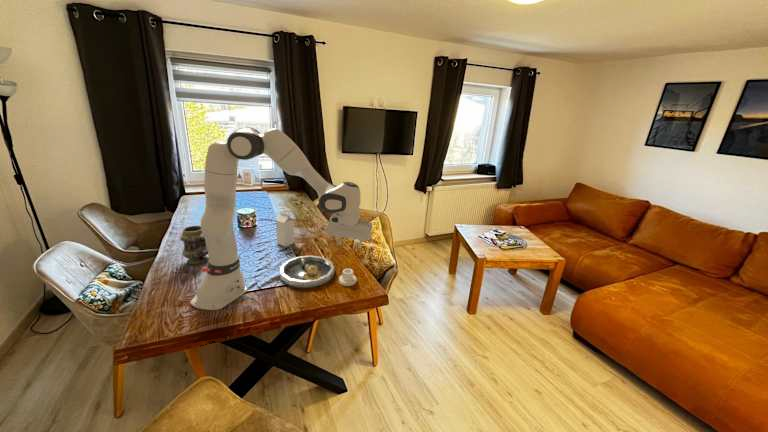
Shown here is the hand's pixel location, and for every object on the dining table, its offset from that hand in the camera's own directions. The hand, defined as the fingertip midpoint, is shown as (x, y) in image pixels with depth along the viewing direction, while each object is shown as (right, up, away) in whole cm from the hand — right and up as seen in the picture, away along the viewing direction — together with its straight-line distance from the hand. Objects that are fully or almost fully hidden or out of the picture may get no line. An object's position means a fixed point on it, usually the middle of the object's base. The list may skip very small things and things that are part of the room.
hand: (348, 246), depth 141 cm
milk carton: (-42, -3, +40) cm, 58 cm away
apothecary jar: (-79, -9, +14) cm, 80 cm away
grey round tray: (-22, -15, +10) cm, 28 cm away
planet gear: (-1, -18, +6) cm, 19 cm away
